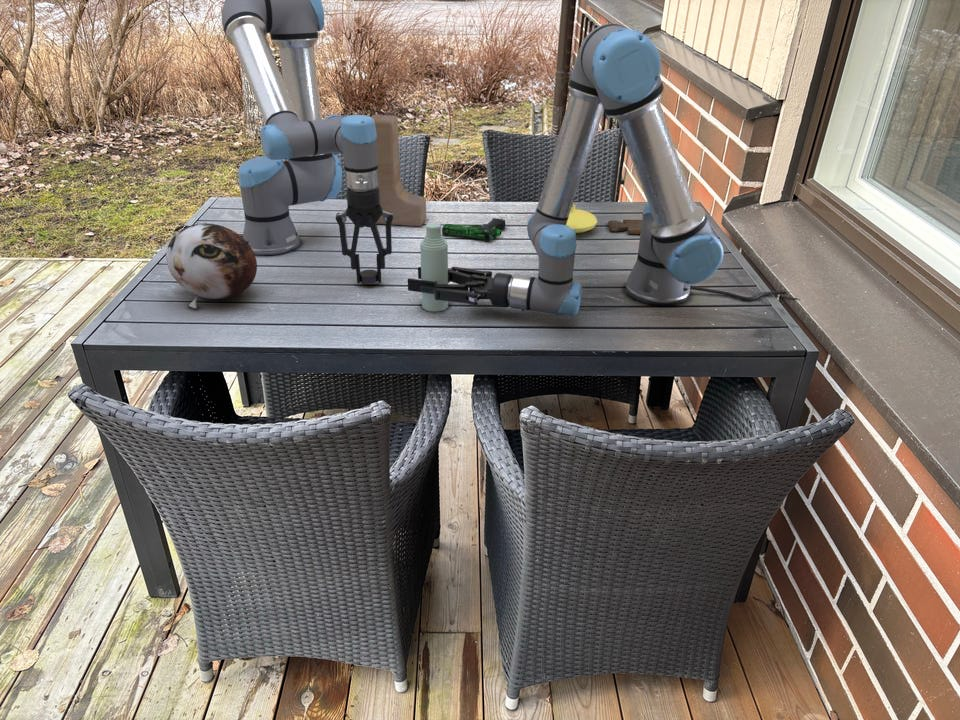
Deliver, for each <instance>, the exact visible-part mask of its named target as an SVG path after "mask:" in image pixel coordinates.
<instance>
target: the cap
mask: <svg viewBox="0 0 960 720" xmlns="http://www.w3.org/2000/svg"><path fill="white" fill-rule="evenodd" d="M377 283H378V274H377V270H375V269H363V270H362V271H361V270H360V284H363V285H372V284H373V285H375V284H377Z"/></svg>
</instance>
